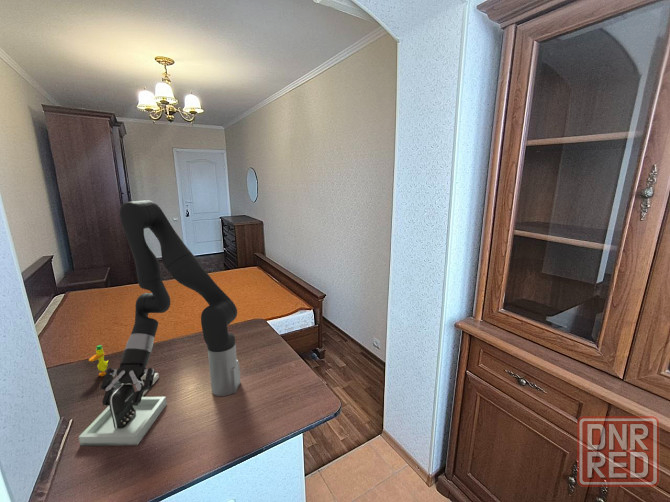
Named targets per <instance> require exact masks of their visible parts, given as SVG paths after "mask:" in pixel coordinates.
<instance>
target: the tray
mask: <svg viewBox="0 0 670 502" xmlns="http://www.w3.org/2000/svg"><path fill="white" fill-rule="evenodd" d="M132 402H133V401H132ZM167 405H168V403H167V397H166V396H143V397H142V399H141V402H140V403H138V405H137V406H134V405H132V406H133V408H134V409H135V411H136V415H135V416H134V417H133V419H132V420H131V421H130V422H129V423H128V424H127V426H125V427H124V428H118V429H116V428H114V424H113V419H112V415H111V411H110V406H107V407H106V408H105V409H104V410H103V411H102V412H101V413H100V414H99V415H98V416H97V417H96V418H95V419H94V420H93V422H92V423H90V425H89V426H87V428H86V429H85V430H84V431H82V433H81V434H80V435H79V436H78V441H79V445H80V446H81V447H85V446H90V447H91V446H93V447H95V446H99V447H100V446H101V447H102V446H104V447H105V446H139V444H140V442H141V441H142V439H143V438H144V437H145V436H146V434H147V433H148V431H149V430H150V429H151V427H152V425H153V424H154V423H155V422H156V420H157V418H158V417H159V416H160V414H161V413H162V412H163V410H164V408H165V407H166V406H167Z"/></svg>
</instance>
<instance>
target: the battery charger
mask: <svg viewBox="0 0 670 502" xmlns="http://www.w3.org/2000/svg"><path fill="white" fill-rule="evenodd" d="M135 392H136V391H135V387H134V384H122V385H120V386H119V387H117V388H116V389H115V390H114V391H113V393H112V394H111V395H110V397H109V406H110V411H111V415H112V419H113V424H114V428H116V429H118V428H124V427H125V426H127V424H128V423H129V422H130V421H131V420H132V419H133V417H134V416H135V415H136V411H135V409H134V408H133V406H132V401H133V399H134V395H135Z"/></svg>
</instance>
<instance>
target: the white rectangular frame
mask: <svg viewBox="0 0 670 502" xmlns="http://www.w3.org/2000/svg"><path fill="white" fill-rule="evenodd" d="M159 375H160V374H159V372H155V375H154V379H153V383H152V386H153V385H154V384H155V383H156V382H157V381H158V379H159V378H160V376H159ZM141 378H142V380H144V381H145V379H146V375H145V374H144V375H143V376H142V377H141ZM128 384H130V383H128ZM148 391H149V390H146V391H144V392H143V395H142V397H145V396H144V395H146V393H147V392H148Z"/></svg>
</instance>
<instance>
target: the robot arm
mask: <svg viewBox="0 0 670 502" xmlns="http://www.w3.org/2000/svg"><path fill="white" fill-rule="evenodd" d="M119 219H120V223H121V226H122V229H123V232H124V234H125V235H124V236H125V237H126V240H127V243H128V246H129V247H130V251H131V253H132V257H133V259H134V263H135V270H136V276H137V283H138V286H139V287H140V288H141V289H142V290H146V291H150V292H144V293H141V294H140V295H139V296H138V297H137V299H136V301H135V313H134V314H135V316H134V324H133V328H132V331H131V333H130V336H129V338H128V340H127V342H126V344H125V348H124V350H123V354H122V356H121V359H120V363H119V367H118V368H117V369H116V368H111V367H109V368H107V369H106V371H105V373H106V374H105V375H104V376H103V380H102V382H101V384H100V389H101V390H104V391H105V393H104V396H103V399H102V400H101V401H102V406H105V407H106V406H107V407H108V406H109V397H110V395H111V394H112V393H113V392H114V391H115V390H116V389H117V388H118V387H119V386H120V385H122V384H128V383H130V384H131V385H133V386H134V385H135V388H136V391H135V395H134V399H133V402H132V405H134V406H137V405H138V403H140V402H141V399H142V395H143V392H144V391H146V390H148V391H150V390H151V389H152V387H153V385H152V383H153V379H154V375H155V373H156V370H155V369H154V368H152V367H149V368H147V365H148V363H149V360H150V357H151V353H152V350H153V347H154V341H155V338H156V334H157V331H158V326H159V321H157V319H155V318H152V317H149V314H163V313H166V312H167V311H168V310H169V308H170V307H171V302H172V301H171V297H170V294H169V292H168V290H167V288H166V285H165V284H164V282H163V279H162V272H161V266H160V263H159V262H160V261H159V259H158V258H157V256H156V255H155V253H153V251H152V250H151V248H150V247H149V245H148V243H147V242H146V239H145V229H149V230H150V231H151V232H152V234H154V236H155V237H156V238H157V240H158V243H159V245H160V253H161V254H160V255H161V260H162V265H163V266H164V267H165V268H166V270H167V271H168V273H169V274H170V275H171V276H172V277H173V279H174V280H176V281H177V282H178V283H179V284H181V286H182V285H183V286H184V287H186V288H188V289H190V290H191V291H194V292H195V293H197V294H198V295H199V296H201V297H202V298H203V299H204V300H205V301H206V303H207V304H208V305H207V306H206V307H205V308H204V309H203V310H202V312H201V314H200V323H201V329H202V330H201V331H202V334H203V335H202V336H203V340H204V342H205V345H206V346H207V354H208V355H207V357H208V365H209V366H208V367H209V368H208V369H209V376H210V377H209V378H210V385H211V386H210V387H211V393H212V395H214V396H216V397H225V396H227V397H228V396H229V395H232V394H236V393H237V391H238V389H239V387H240V385H241V373H240V360H238V359H237V348H236V347H237V346H236V336H235V335H234V334H233V333H231V332H229V330H228V326H229V325H230V324H231V323H232V322H234V321H235V320H236V318H237V316H238V309H237V306H236V304H235V303H234V301H233V300H232V299H231V298H230V297H229V296H228V295H227V294H226V293H225V292H224V291H223V290H222V289H221V288H220V286H219V285H217V283H216V282H215V281H214V279H212V277H211V276H210V275H209V273H207V271H206V270H205V269H204V267H203V266H202V265H201V263H200V261H198V259H197V258H196V256H195V255H194V254H193V253H192V252H191V250H190V249H189V248H188V247H187V246H186V244H185V243H184V241H183V240H182V238H180V236H179V235H178V234H177V232H176V229H174V227H173V225H172V224H171V223H170V221H169V219H168V218H167V216H166V214H165V213H164V212H163V209H161V207H160V206H159V205H158V204H157V203H156V202H155V201H153V200H151V199H150V200H148V199H144V200H133V201H127V202H125V203H123V204H122V205H121V206H120V208H119ZM144 374H145V375H146V379H145V380H144V381H143V380H142V378H141V377H142V376H143V375H144ZM114 377H115V378H114Z"/></svg>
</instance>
